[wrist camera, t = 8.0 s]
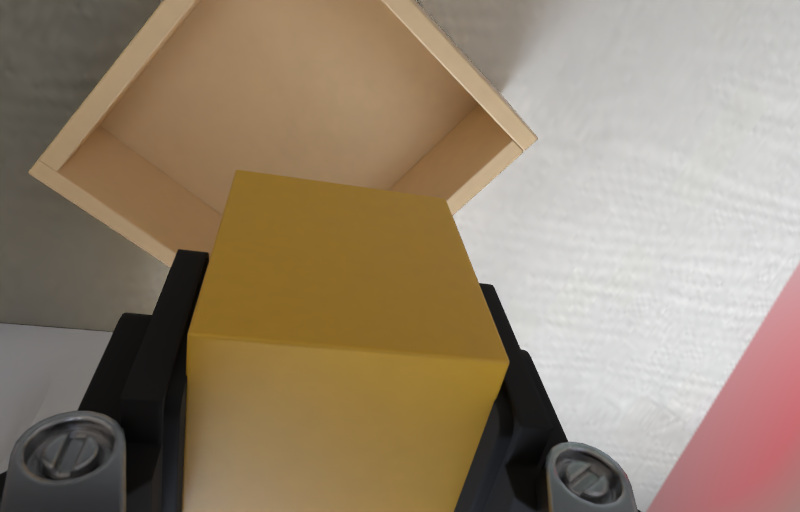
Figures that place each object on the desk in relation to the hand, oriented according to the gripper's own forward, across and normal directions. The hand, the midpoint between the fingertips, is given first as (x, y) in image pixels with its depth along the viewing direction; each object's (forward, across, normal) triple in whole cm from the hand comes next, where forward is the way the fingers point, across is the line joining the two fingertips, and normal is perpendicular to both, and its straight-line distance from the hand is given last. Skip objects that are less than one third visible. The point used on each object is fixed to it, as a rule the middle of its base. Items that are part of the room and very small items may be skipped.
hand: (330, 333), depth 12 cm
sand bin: (+17, +1, +1) cm, 17 cm away
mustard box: (+2, 0, 0) cm, 2 cm away
